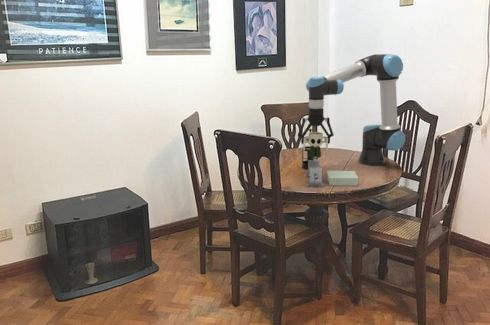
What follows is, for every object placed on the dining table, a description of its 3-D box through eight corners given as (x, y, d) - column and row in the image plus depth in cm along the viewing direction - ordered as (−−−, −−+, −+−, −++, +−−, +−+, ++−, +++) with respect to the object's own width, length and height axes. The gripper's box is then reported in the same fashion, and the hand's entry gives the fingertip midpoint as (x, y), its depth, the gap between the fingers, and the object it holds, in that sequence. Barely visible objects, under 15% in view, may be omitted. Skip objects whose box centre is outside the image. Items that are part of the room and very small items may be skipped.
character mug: (304, 159, 234) (305, 134, 231) (304, 155, 241) (304, 131, 238) (326, 159, 233) (327, 134, 230) (324, 156, 240) (325, 132, 237)
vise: (320, 174, 251) (320, 158, 249) (324, 187, 227) (324, 170, 225) (305, 174, 251) (306, 158, 249) (308, 187, 228) (308, 170, 225)
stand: (353, 178, 243) (354, 170, 242) (358, 185, 229) (358, 178, 228) (326, 177, 244) (326, 170, 243) (328, 185, 230) (329, 177, 229)
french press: (316, 170, 260) (317, 130, 255) (300, 169, 263) (300, 130, 257) (319, 165, 271) (320, 127, 266) (303, 164, 274) (304, 127, 268)
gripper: (338, 106, 233) (337, 148, 238) (292, 107, 235) (292, 148, 241) (340, 108, 226) (338, 151, 231) (293, 108, 228) (293, 151, 233)
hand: (315, 149), depth 236 cm, fingers closed on character mug, 11 cm apart
